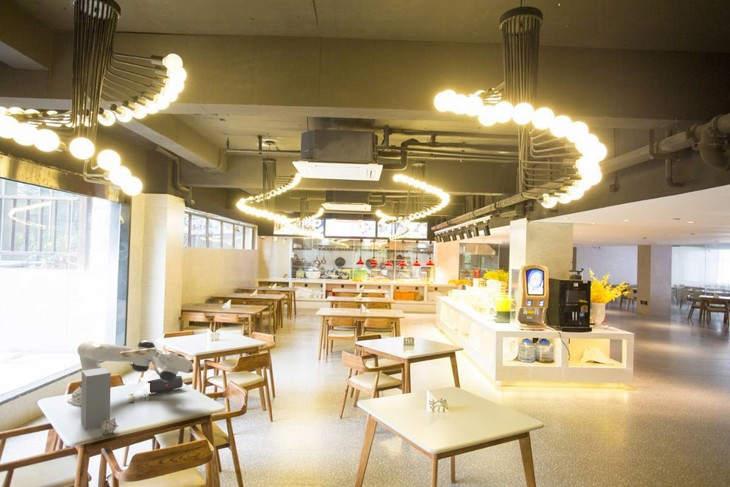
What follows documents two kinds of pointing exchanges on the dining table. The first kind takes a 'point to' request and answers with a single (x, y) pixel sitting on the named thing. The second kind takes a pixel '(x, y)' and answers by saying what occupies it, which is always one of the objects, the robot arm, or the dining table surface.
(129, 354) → the wooden bar
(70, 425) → the dining table surface
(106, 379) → the stand
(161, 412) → the dining table surface
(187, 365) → the robot arm
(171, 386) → the bluetooth speaker
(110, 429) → the dark-edged faceted part
